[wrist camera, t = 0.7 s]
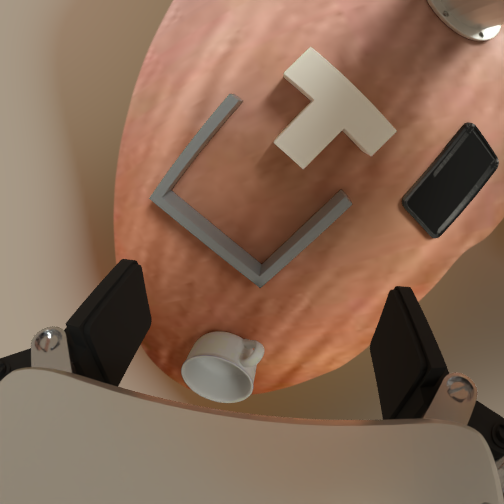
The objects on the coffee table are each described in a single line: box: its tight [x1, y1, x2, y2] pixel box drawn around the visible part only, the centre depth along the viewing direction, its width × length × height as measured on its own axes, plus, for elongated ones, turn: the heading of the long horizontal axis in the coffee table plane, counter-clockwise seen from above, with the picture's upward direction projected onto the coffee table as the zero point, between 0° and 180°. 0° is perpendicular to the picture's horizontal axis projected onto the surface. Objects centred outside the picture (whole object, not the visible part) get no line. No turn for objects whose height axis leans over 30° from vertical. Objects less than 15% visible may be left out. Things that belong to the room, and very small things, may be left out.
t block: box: [274, 47, 397, 169], centre depth 28 cm, size 10×12×4 cm
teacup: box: [181, 331, 264, 403], centre depth 43 cm, size 14×11×8 cm
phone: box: [402, 123, 499, 238], centre depth 31 cm, size 8×1×15 cm
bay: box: [149, 94, 352, 288], centre depth 34 cm, size 15×17×3 cm
